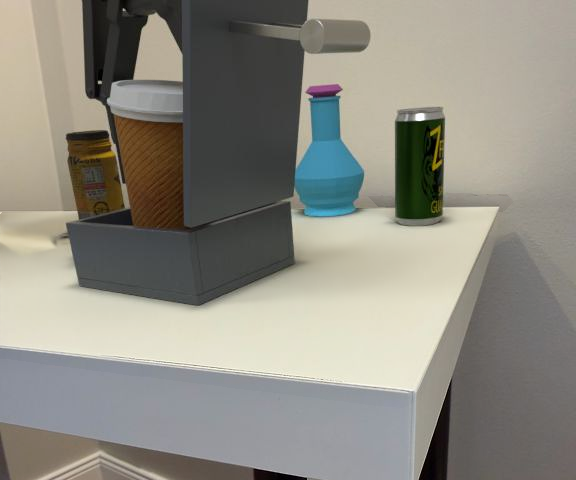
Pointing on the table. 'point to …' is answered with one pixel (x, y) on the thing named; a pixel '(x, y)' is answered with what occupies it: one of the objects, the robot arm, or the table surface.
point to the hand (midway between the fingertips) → (175, 182)
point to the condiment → (93, 173)
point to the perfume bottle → (327, 160)
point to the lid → (247, 98)
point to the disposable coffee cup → (151, 149)
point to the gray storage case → (181, 253)
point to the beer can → (419, 165)
